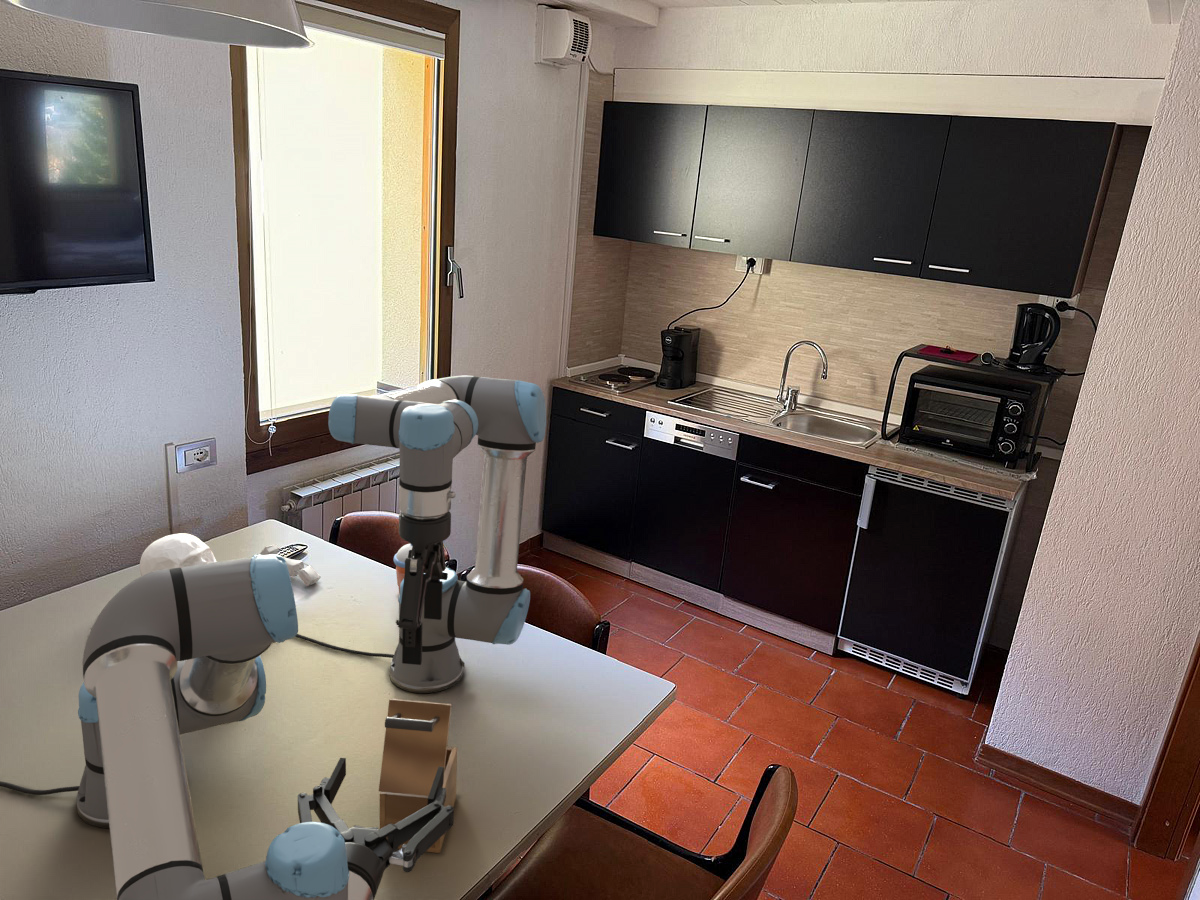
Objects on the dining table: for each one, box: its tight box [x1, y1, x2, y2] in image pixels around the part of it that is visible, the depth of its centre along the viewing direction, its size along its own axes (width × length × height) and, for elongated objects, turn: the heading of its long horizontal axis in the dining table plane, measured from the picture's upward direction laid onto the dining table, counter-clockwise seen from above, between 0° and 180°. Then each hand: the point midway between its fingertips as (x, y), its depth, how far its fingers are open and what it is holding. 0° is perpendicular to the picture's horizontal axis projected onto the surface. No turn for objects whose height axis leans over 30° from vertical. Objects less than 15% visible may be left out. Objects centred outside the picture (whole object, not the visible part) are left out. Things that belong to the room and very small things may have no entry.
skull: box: [139, 533, 218, 577], centre depth 203 cm, size 13×22×16 cm, turn 73°
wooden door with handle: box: [378, 698, 453, 796], centre depth 129 cm, size 14×10×8 cm
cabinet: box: [379, 746, 459, 854], centre depth 139 cm, size 13×10×10 cm
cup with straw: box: [392, 543, 413, 596], centre depth 213 cm, size 9×9×18 cm
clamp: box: [258, 544, 322, 587], centre depth 219 cm, size 20×4×7 cm, turn 62°
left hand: (392, 770), depth 118 cm, fingers open, 13 cm apart
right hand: (422, 639), depth 131 cm, fingers open, 13 cm apart
